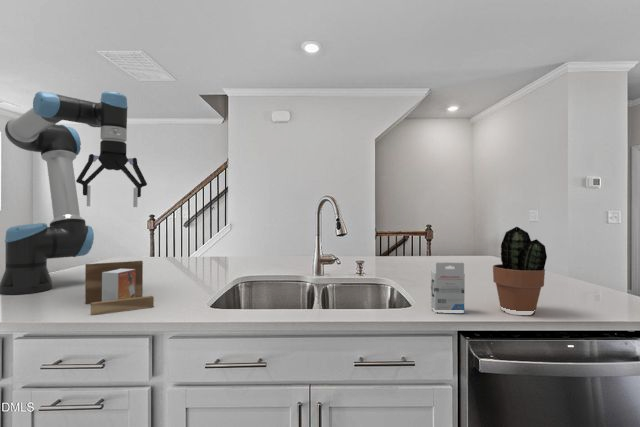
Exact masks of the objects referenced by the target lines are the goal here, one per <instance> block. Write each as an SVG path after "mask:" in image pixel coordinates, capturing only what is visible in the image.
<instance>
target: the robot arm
mask: <svg viewBox="0 0 640 427" xmlns="http://www.w3.org/2000/svg"><path fill="white" fill-rule="evenodd" d="M100 96H101V97H100V99H99V100H100V102H95V101H89V100H85V99H81V98H75V97H70V96H67V95H61V94H57V93H54V92H49V91H48V92H46V91H37V92H36V93H35V94H34V98H33V100H32V101H33V102H32V107H31V108H30V109H29V110H27V111H26V112H25V113H23V114H22V115H16V116H13V117H12V118H11V119H9V120H8V121H7V122H6V124H5V125H4V126H5V127H4V133H5V136H6V138H7V140H8V141H9V142H10V143H12V144H13V145H15V147H18V148H19V149H22V150H25V151H27V152H28V151H29V152H36V153H40V157H41V159H42V160H43V161H44V162H46V167H47V173H48V174H47V176H48V183H49V190H50V192H49V193H50V198H51V199H50V200H51V208H52V215H53V220H51V221H50V223H49V226H48V224H47V223H45V222H43V223H41V222H38V223H29V224H21V225H15V226H11V227H9V228H8V229H7V230H6V232H5V237H4V238H5V239H4V243H5V269H4V273H3V275H2V278H1V279H0V280H1V281H0V294H1V295H25V294H34V293H40V292H44V291H49V290H52V289H53V280H52V277H51V274H50V272H49V270H48V267H47V262H48V259H49V260H50V259H61V258H77V257H83V256H86V255H88V254H89V252H90V251H91V249H92V247H93V244H94V238H95V233H94V229H93V227H92V226H90V225H87V224H86V220H85V218H83V217H81V215H80V214H81V213H80V206H79V199H78V191H77V185H76V184H81V185H82V195H83V196H86V207H91V185H89V184H90V183H91V182H92V180H94V179H95V178H96V177H97V176H98V175H99V174H101V172H102V171H103V170H104V169H106V170H108V171H112V170H113V171H120V170H121V172H123V174H124V175H125V176H126V177H127V178H128V179H129V180H130V181H131V183H132V184H134V186H135V187H133V198H132V199H133V202H132V204H133V208H138V198H142V197H141V196H142V188H143V187H146V186H147V185H148V183H147V181H146V179H145V177H144V175H143V172H142V171H141V168H140V167H139V165H138V159H137V158H136V157H133V158H132V157H130V158H128V157H127V143H126V142H127V133H128V132H127V130H128V129H127V128H128V127H127V126H128V125H127V124H128V108H129V107H128V98H127V96H126V95H125V94H123V93H120V92H117V91H103V92H101V95H100ZM61 121H67V122H72V123H79V124H85V125H88V126H89V127H92V128H100V139H101V141H100V146H99V147H100V149H99V151H100V152H99V155H95V154H92V153H91V154H89V155H88V160H87V162H86V164H85V166H84V167H83V169H82V170H81V172H80V173H79V175H78V177H77V179H76V176H75V171H74V170H75V168H74V162H73V161H75V160H76V159H77V156H78V155H79V154H80V152H81V148H82V147H81V145H82V143H81V142H82V141H81V137H80V135H79V133H78V131H77V130H76V129H75V128H74V127H71V126H66V125H64V124H57V123H59V122H61ZM97 160H98V161H99V162H100V164H101V165H100V166H98V167H97V168H96V170H95V171H93V173H91V174H90V175H89V176H88V177H87V178H86V179H85V180H84V178H85V176H86V175H87V172H88V171H89V170H90V168H91V167H92V165H93V163H95V162H97ZM127 163H129V165H131V166H132V168H133V170H134V172H135V174H136V176H137V179H136V177H135V176H134V175H133V174H132V172H131V171H130V170H129V169H128V168H127V166H126V164H127ZM138 180H139V181H140V182H139V181H138Z"/></svg>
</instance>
